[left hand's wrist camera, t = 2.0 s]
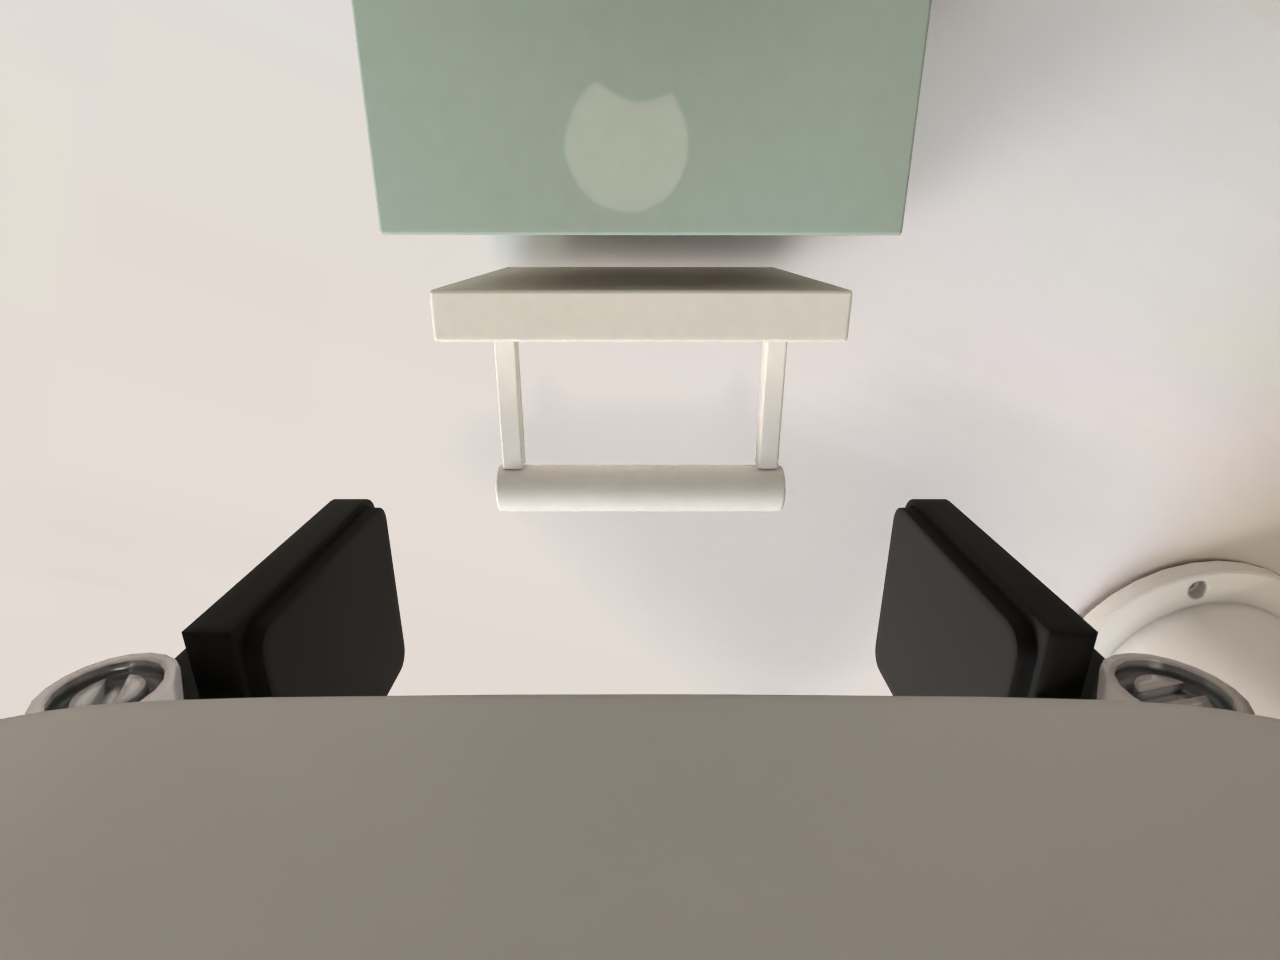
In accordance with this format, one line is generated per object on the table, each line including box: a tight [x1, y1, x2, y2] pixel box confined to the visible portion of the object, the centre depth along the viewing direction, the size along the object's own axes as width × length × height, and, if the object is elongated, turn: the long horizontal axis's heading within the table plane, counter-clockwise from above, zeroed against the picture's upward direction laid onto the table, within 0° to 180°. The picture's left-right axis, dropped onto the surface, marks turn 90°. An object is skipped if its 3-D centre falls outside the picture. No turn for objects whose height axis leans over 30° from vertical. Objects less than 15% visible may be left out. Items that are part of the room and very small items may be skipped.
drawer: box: [430, 267, 852, 511], centre depth 19 cm, size 21×10×10 cm, turn 0°
